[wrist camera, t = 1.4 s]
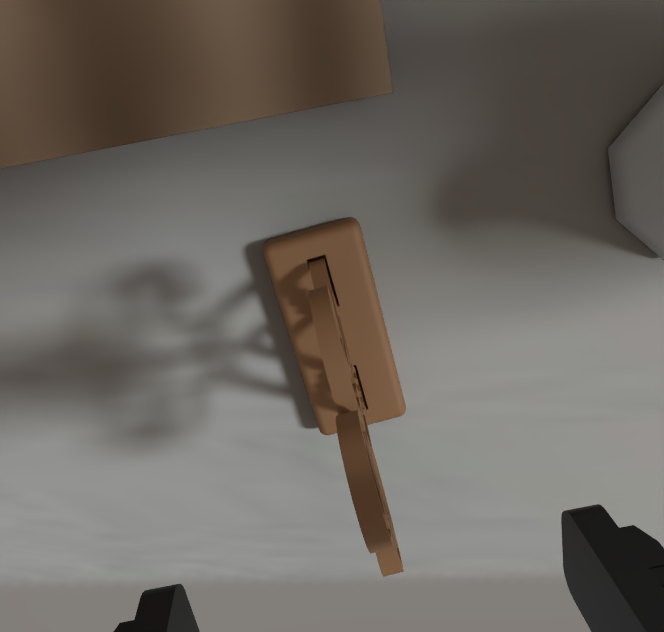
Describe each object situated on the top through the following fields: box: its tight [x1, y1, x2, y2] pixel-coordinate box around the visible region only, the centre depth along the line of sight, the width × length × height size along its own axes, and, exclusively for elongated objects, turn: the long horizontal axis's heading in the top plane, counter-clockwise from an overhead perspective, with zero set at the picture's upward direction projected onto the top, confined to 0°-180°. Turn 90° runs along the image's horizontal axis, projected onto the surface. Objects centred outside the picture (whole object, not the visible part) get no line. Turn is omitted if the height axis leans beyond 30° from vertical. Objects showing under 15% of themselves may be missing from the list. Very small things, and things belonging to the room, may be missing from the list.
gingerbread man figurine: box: [263, 217, 406, 577], centre depth 20 cm, size 9×4×12 cm, turn 15°
